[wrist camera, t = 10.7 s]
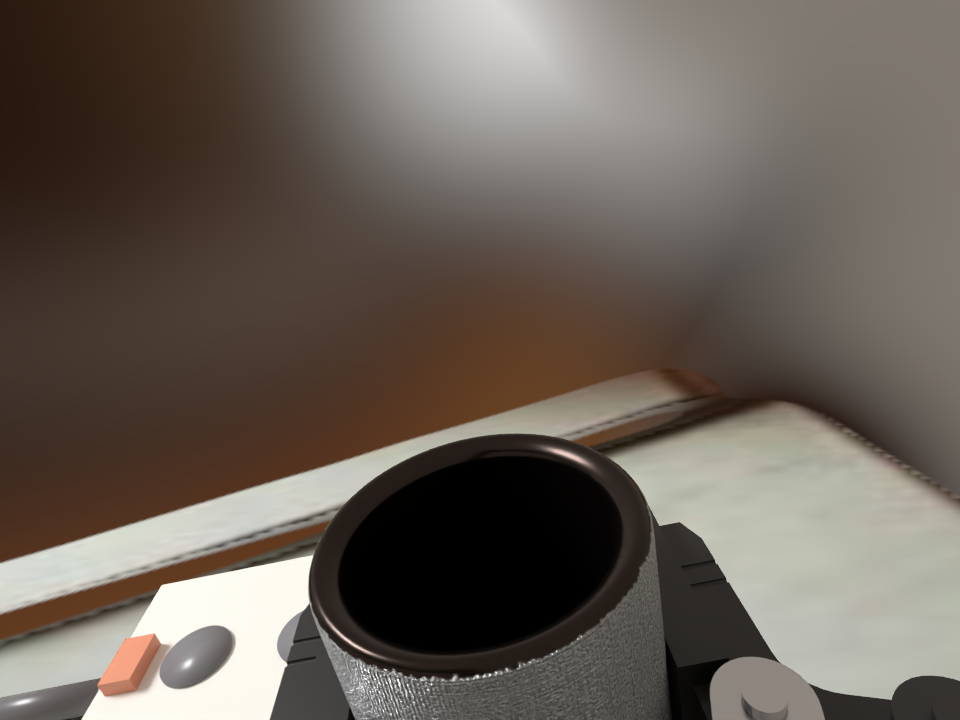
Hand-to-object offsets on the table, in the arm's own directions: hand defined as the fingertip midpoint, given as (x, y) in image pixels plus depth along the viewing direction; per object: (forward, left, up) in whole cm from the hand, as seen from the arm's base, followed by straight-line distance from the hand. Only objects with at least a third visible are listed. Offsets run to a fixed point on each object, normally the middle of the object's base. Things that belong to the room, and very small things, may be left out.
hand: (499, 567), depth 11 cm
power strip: (-9, +7, -10) cm, 16 cm away
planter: (0, -3, -7) cm, 8 cm away
